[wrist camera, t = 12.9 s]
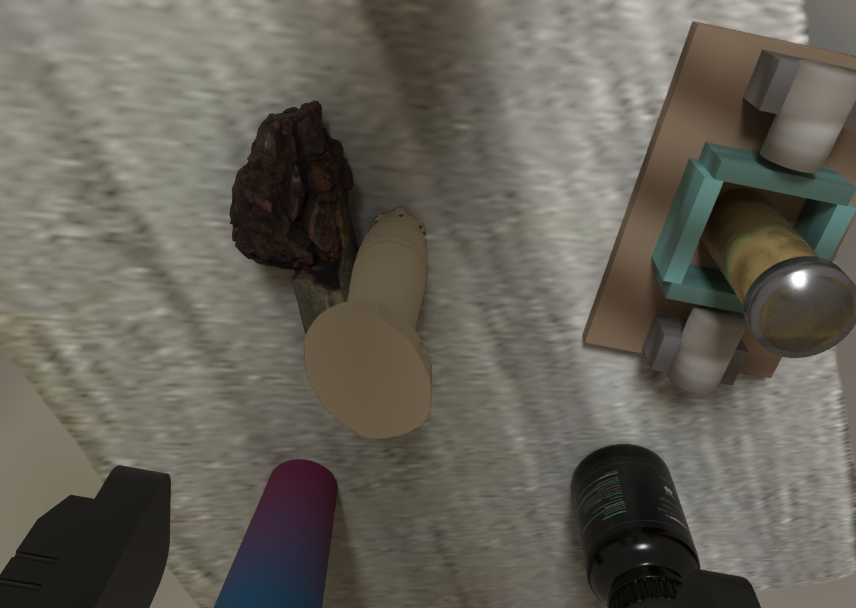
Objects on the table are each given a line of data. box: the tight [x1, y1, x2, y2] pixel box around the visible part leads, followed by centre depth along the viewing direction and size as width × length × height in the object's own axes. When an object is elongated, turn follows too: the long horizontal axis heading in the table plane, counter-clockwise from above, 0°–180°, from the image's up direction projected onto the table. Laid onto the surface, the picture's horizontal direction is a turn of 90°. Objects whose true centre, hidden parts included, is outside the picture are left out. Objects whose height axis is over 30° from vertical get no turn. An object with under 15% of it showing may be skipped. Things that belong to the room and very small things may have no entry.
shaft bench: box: [583, 21, 856, 395], centre depth 40 cm, size 19×12×5 cm, turn 169°
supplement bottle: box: [572, 444, 700, 608], centre depth 47 cm, size 7×7×12 cm
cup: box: [214, 460, 337, 608], centre depth 48 cm, size 7×7×15 cm
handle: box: [304, 208, 432, 439], centre depth 37 cm, size 5×6×15 cm
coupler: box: [700, 189, 856, 358], centre depth 37 cm, size 5×5×10 cm
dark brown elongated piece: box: [229, 101, 359, 334], centre depth 42 cm, size 18×7×6 cm, turn 8°
